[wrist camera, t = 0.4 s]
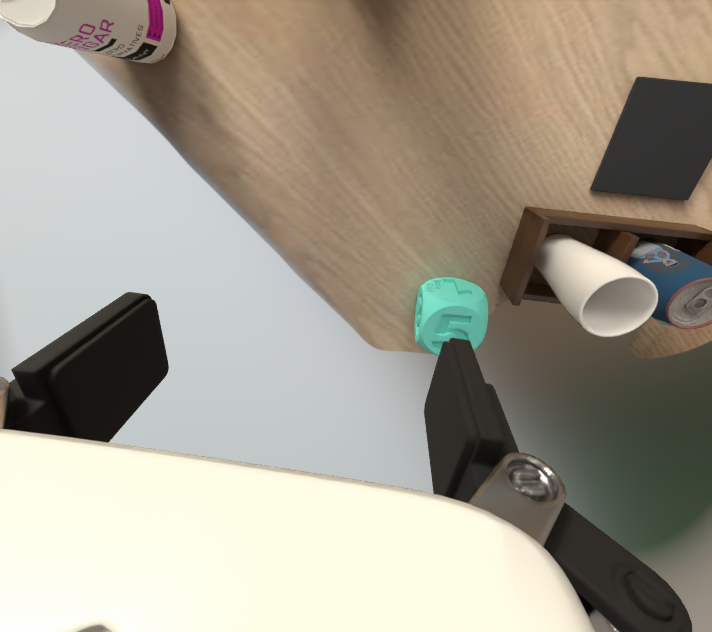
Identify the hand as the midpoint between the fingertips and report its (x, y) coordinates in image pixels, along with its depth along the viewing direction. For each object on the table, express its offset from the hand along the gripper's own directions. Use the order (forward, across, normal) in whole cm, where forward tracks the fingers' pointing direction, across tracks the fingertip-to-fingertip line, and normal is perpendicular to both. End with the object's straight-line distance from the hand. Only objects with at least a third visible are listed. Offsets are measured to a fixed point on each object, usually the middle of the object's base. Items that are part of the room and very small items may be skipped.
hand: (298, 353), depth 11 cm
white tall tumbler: (+36, -25, +6) cm, 45 cm away
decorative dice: (+36, -13, +15) cm, 42 cm away
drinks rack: (+36, -30, +6) cm, 47 cm away
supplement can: (+36, +25, -13) cm, 46 cm away
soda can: (+36, -35, +5) cm, 51 cm away
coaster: (+36, -32, -8) cm, 49 cm away
